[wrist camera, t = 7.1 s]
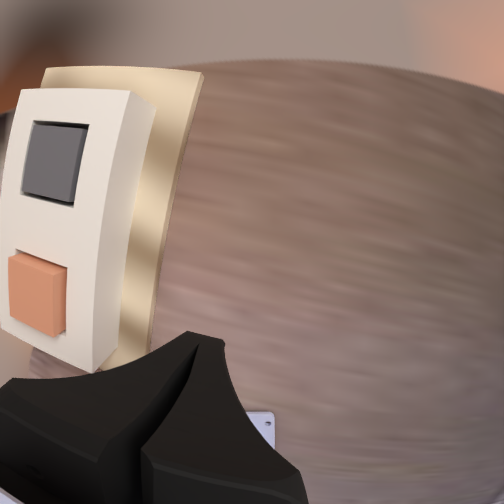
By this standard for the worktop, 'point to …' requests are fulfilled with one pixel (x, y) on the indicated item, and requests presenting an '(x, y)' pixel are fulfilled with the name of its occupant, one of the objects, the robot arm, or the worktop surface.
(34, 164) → the grey cube
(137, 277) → the birch board
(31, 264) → the terracotta plunger
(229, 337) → the worktop surface
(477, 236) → the worktop surface
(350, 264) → the worktop surface
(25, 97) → the plunger panel
